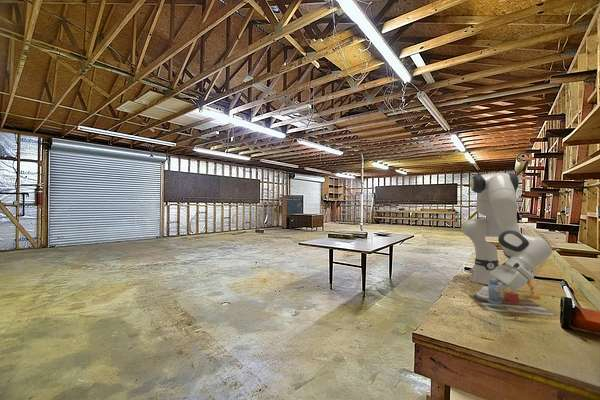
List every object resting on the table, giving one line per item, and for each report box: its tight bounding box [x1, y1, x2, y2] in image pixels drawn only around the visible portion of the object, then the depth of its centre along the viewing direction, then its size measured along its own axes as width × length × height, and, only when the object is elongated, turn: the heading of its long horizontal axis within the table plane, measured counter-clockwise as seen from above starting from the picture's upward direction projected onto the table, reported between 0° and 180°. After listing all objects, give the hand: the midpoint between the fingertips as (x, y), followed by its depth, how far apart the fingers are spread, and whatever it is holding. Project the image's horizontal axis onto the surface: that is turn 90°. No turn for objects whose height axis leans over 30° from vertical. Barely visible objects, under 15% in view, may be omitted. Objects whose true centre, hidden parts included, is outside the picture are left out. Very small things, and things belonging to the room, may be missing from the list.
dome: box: [475, 285, 489, 300], centre depth 130 cm, size 9×9×5 cm
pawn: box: [487, 278, 502, 304], centre depth 120 cm, size 5×5×11 cm
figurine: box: [526, 280, 541, 300], centre depth 132 cm, size 8×6×12 cm
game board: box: [467, 293, 557, 320], centre depth 123 cm, size 22×26×2 cm
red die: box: [504, 290, 520, 303], centre depth 127 cm, size 4×4×4 cm
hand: (492, 288), depth 120 cm, fingers closed on pawn, 4 cm apart
